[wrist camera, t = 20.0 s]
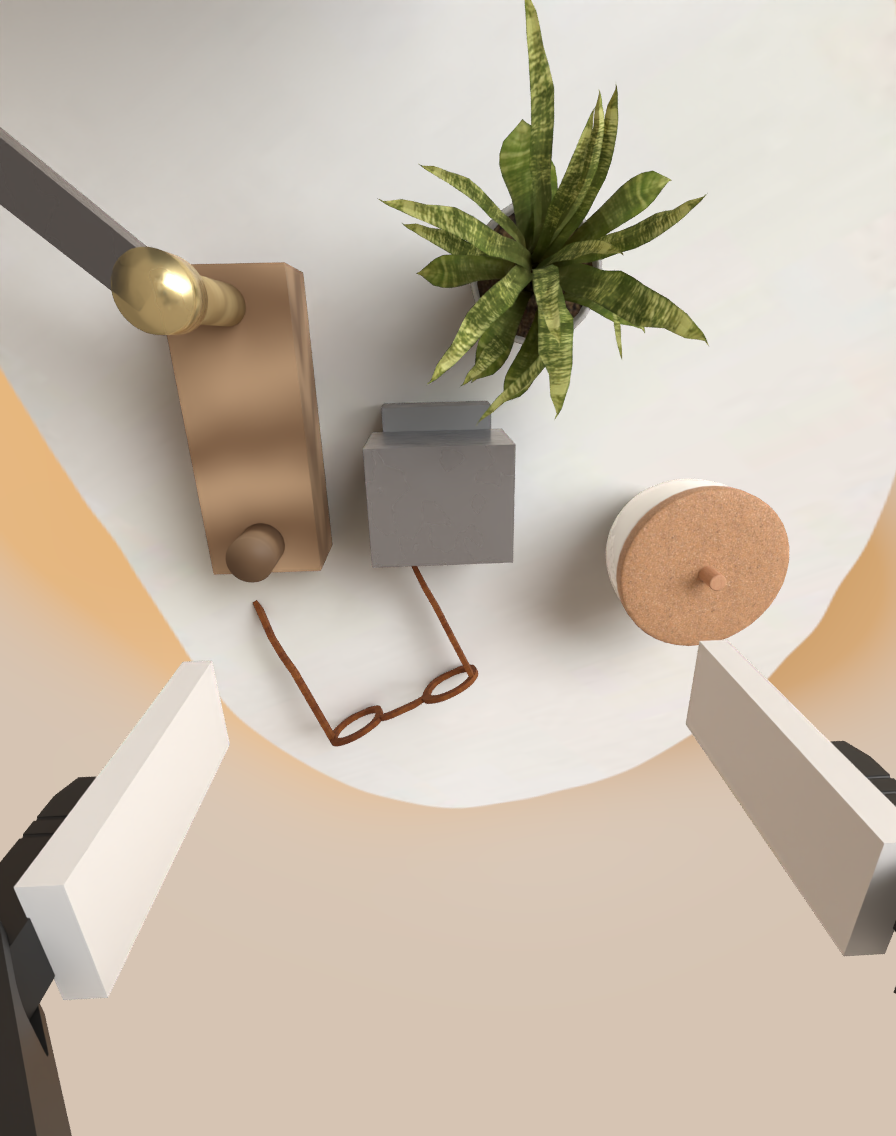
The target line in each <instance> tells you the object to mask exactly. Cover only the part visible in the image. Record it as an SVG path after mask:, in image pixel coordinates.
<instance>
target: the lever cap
mask: <svg viewBox="0 0 896 1136" xmlns="http://www.w3.org/2000/svg"><path fill="white" fill-rule="evenodd" d="M363 458H364V471H365V483H366V496H367V508H368V521H369V533H370V545H371V558H372V567H399V566H427V565H454V564H482V563H509V562H513V535H514V488H515V443H514V442H513V441H512V440H511V439H510V438H509V436H508V435H507V434H506V433H505V432H504V431H503V430H502V429H470V430H437V431H403V432H372V434H371V435H370V437H369V439H368V441H367V443H366V444H365V446H364V448H363Z"/></svg>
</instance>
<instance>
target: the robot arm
mask: <svg viewBox="0 0 896 1136" xmlns="http://www.w3.org/2000/svg"><path fill="white" fill-rule="evenodd" d="M686 725H687V727H688V728H689V730H690V731H691V733H692V734H693V736H694V737H695V739H696V740H697V741H698V743H699V744H700V746H701V747H702V749H703V750H704V752H705V753H706V754H707V756H708V758H709V759H710V761H711V762H712V763H713V765H714V766H715V768H716V769H717V771H718V772H719V774H720V775H721V777H722V778H723V780H724V781H725V783H726V784H727V785H728V787H729V788H730V790H731V792H732V793H733V794H734V796H735V797H736V799H737V800H738V802H739V803H740V805H741V806H742V808H743V809H744V811H745V812H746V813H747V815H748V816H749V818H750V819H751V820H752V822H753V824H754V825H755V827H756V828H757V830H758V831H759V833H760V834H761V836H762V837H763V839H764V840H765V841H766V843H767V844H768V846H769V847H770V849H771V850H772V852H773V853H774V855H775V856H776V858H777V859H778V860H779V862H780V864H781V865H782V867H783V868H784V869H785V871H786V872H787V874H788V875H789V877H790V878H791V880H792V881H793V883H794V884H795V886H796V887H797V889H798V890H799V892H800V893H801V894H802V896H803V897H804V899H805V900H806V902H807V903H808V905H809V906H810V907H811V909H812V911H813V912H814V914H815V915H816V917H817V918H818V919H819V921H820V922H821V924H822V925H823V927H824V928H825V930H826V931H827V933H828V934H829V936H830V937H831V938H832V940H833V942H834V943H835V945H836V946H837V947H838V949H839V950H840V952H841V953H842V955H843V956H855V955H873V954H885V952H886V950H887V947H888V944H889V942H890V940H891V937H892V935H893V932H894V930H895V932H896V780H895V779H894V778H893V779H891V778H890V775H889V774H888V773H887V772H886V771H885V770H884V769H883V768H882V767H881V766H880V765H879V764H878V763H877V762H876V761H875V760H874V759H872V758H871V757H870V756H869V755H867V754H865V753H864V752H862V751H860V750H858V749H857V748H855V747H853V746H852V745H850V744H848V743H847V742H845V741H833V742H830V741H829V740H828V739H827V738H826V737H825V736H824V735H823V734H822V733H821V732H820V731H819V730H818V729H817V728H815V726H814V725H813V724H812V723H811V722H810V721H809V720H808V719H807V718H806V717H805V716H803V714H802V713H801V712H800V711H799V710H798V709H796V707H794V705H793V704H791V703H790V702H789V701H788V700H787V699H786V698H785V697H784V696H783V695H782V694H781V693H780V692H779V691H778V690H777V689H776V688H775V687H774V686H773V685H772V684H771V683H770V682H769V681H768V680H767V679H766V678H765V677H764V676H763V675H762V674H761V673H760V672H759V671H758V670H757V669H756V668H755V667H754V666H753V665H752V664H751V663H750V662H749V661H748V660H747V659H746V658H745V657H744V656H743V655H742V654H741V653H740V652H739V651H738V650H737V649H736V648H735V647H734V646H733V645H732V644H731V643H730V642H729V641H728V640H711V641H699V647H698V653H697V659H696V665H695V671H694V677H693V683H692V689H691V695H690V701H689V707H688V713H687V719H686ZM229 745H230V743H229V738H228V734H227V729H226V724H225V720H224V715H223V710H222V705H221V700H220V696H219V691H218V686H217V681H216V677H215V672H214V667H213V662H212V661H192V662H182V664H181V665H180V667H179V668H178V669H177V671H176V672H175V673H174V674H173V676H172V677H171V678H170V680H169V681H168V683H167V684H166V685H165V687H164V688H163V689H162V691H161V692H160V693H159V694H158V696H157V697H156V698H155V700H154V701H153V703H152V704H151V705H150V707H149V708H148V709H147V710H146V712H145V713H144V715H143V716H142V717H141V718H140V720H139V721H138V722H137V724H136V725H135V726H134V728H133V729H132V730H131V732H130V733H129V734H128V736H127V737H126V738H125V740H124V741H123V742H122V744H121V745H120V746H119V748H118V749H117V751H116V752H115V753H114V754H113V756H112V757H111V759H110V760H109V761H108V763H107V764H106V765H105V767H104V768H103V769H102V770H101V772H100V773H99V775H98V776H97V777H78V778H77V779H76V780H74V781H73V782H72V783H70V784H69V785H68V786H67V787H65V788H64V789H63V790H61V791H60V792H59V793H57V794H56V795H55V796H54V797H53V798H52V799H51V800H50V802H49V803H48V804H47V805H46V806H45V808H44V809H43V810H42V811H41V813H40V814H39V815H38V816H37V820H36V821H33V822H32V824H31V825H30V826H29V827H28V829H27V830H26V831H25V832H24V834H23V838H21V839H19V840H18V841H17V842H16V844H15V845H14V846H13V847H12V848H11V850H10V851H9V852H8V853H7V855H6V856H5V857H4V858H3V860H2V861H1V862H0V1136H72V1135H71V1130H70V1126H69V1122H68V1117H67V1113H66V1108H65V1104H64V1099H63V1095H62V1090H61V1086H60V1081H59V1077H58V1072H57V1068H56V1063H55V1059H54V1054H53V1050H52V1045H51V1041H50V1036H49V1032H48V1027H47V1023H46V1018H45V1014H44V1012H43V1009H42V1007H41V1005H40V1001H41V1000H42V998H43V996H44V995H45V993H46V991H47V989H48V988H49V986H50V984H51V982H52V981H53V979H54V980H55V982H56V984H57V987H58V989H59V991H60V993H61V996H62V998H63V1000H72V999H90V998H108V996H109V994H110V992H111V990H112V988H113V986H114V984H115V982H116V980H117V978H118V975H119V973H120V971H121V969H122V967H123V965H124V963H125V961H126V959H127V957H128V955H129V953H130V951H131V949H132V946H133V944H134V942H135V940H136V938H137V936H138V934H139V932H140V930H141V928H142V926H143V924H144V921H145V919H146V917H147V915H148V913H149V911H150V909H151V907H152V905H153V903H154V901H155V899H156V897H157V895H158V892H159V890H160V888H161V886H162V884H163V882H164V880H165V878H166V876H167V874H168V872H169V870H170V867H171V865H172V863H173V861H174V859H175V857H176V855H177V853H178V851H179V849H180V847H181V845H182V843H183V841H184V838H185V836H186V834H187V832H188V830H189V828H190V826H191V824H192V822H193V820H194V818H195V815H196V813H197V811H198V809H199V807H200V805H201V803H202V801H203V799H204V797H205V795H206V793H207V791H208V788H209V787H210V784H211V782H212V780H213V778H214V776H215V774H216V772H217V770H218V768H219V766H220V764H221V761H222V759H223V757H224V755H225V753H226V751H227V749H228V747H229ZM894 993H896V987H895V990H894Z"/></svg>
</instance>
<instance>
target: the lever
mask: <svg viewBox="0 0 896 1136" xmlns="http://www.w3.org/2000/svg"><path fill="white" fill-rule="evenodd" d="M0 204H1V205H2V206H3V207H4V208H6V209H7V210H8V211H10V212H11V213H12V214H13V215H15V216H16V217H17V218H19V219H20V220H21V221H22V222H24V223H25V224H26V225H28V226H29V227H30V228H31V229H33V230H34V231H35V232H37V233H38V234H39V235H40V236H42V237H43V238H44V239H46V240H47V241H48V242H49V243H51V244H52V245H53V246H55V247H56V248H57V249H58V250H60V251H61V252H62V253H64V254H65V255H66V256H67V257H69V258H70V259H71V260H73V261H74V262H75V263H76V264H78V265H79V266H80V267H82V268H83V269H84V270H85V271H87V272H88V273H89V274H91V275H92V276H93V277H95V278H96V279H97V280H98V281H100V282H101V283H102V284H104V285H105V286H106V287H107V288H109V289H110V290H111V291H112V295H113V298H114V301H115V303H116V305H117V307H118V309H119V311H120V312H121V314H122V315H123V316H124V317H125V318H126V319H127V321H129V322H130V323H131V324H132V325H133V326H135V327H136V328H138V329H140V330H142V331H144V332H146V333H150V334H155V335H183V334H187V333H190V332H192V331H193V330H195V329H196V328H197V327H198V326H199V325H200V324H201V323H202V321H203V320H204V318H205V315H206V312H207V308H208V295H207V290H206V287H205V284H204V282H203V280H202V278H201V276H200V275H199V273H198V272H197V270H196V269H195V268H194V267H193V266H192V265H191V264H190V263H188V262H187V261H186V260H184V259H182V258H181V257H179V256H176V255H174V254H171V253H168V252H165V251H162V250H159V249H156V248H152V247H147V246H145V245H144V244H143V243H142V242H141V241H139V240H138V239H137V238H136V237H134V236H133V235H132V234H131V233H129V232H128V231H127V230H126V229H125V228H123V227H122V226H121V225H120V224H118V223H117V222H116V221H115V220H114V219H112V218H111V217H110V216H109V215H107V214H106V213H105V212H104V211H102V210H101V209H100V208H99V207H98V206H96V205H95V204H94V203H93V202H91V201H90V200H89V199H88V198H87V197H85V196H84V195H83V194H82V193H80V192H79V191H78V190H77V189H75V188H74V187H73V186H72V185H71V184H69V183H68V182H67V181H66V180H64V179H63V178H62V177H61V176H60V175H58V174H57V173H56V172H55V171H53V170H52V169H51V168H50V167H48V166H47V165H46V164H45V163H44V162H42V161H41V160H40V159H39V158H37V157H36V156H35V155H34V154H33V153H31V152H30V151H29V150H28V149H26V148H25V147H24V146H23V145H21V144H20V143H19V142H18V141H17V140H15V139H14V138H13V137H12V136H10V135H9V134H8V133H7V132H6V131H4V130H3V129H2V128H1V127H0Z"/></svg>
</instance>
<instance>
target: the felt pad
mask: <svg viewBox="0 0 896 1136" xmlns="http://www.w3.org/2000/svg"><path fill="white" fill-rule="evenodd" d="M490 406H491V404H490V403H489V402H488V401H466V402H431V403H396V404H384V405H383V406H382V408H381V409H382V424H383V432H403V431H437V430H470V429H491V414H490V415H489V416H487V417H485V418H484V419H482V420H481V421H480V422H478V421H479V420H480V418H481V417H482V415H483V414H484V413H485V412H486V411H487V409H488V408H489V407H490ZM477 423H478V424H477ZM476 425H477V426H476Z"/></svg>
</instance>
